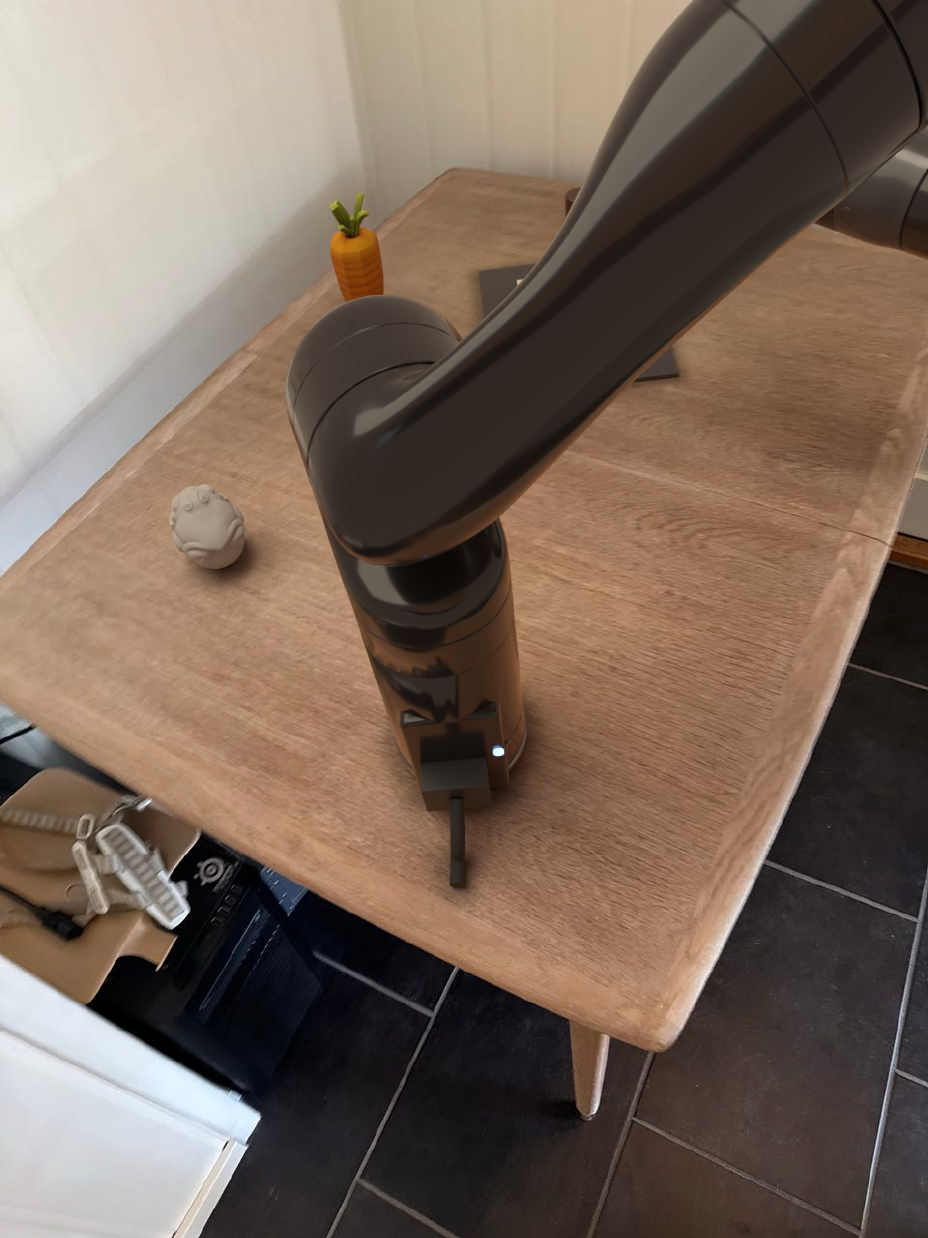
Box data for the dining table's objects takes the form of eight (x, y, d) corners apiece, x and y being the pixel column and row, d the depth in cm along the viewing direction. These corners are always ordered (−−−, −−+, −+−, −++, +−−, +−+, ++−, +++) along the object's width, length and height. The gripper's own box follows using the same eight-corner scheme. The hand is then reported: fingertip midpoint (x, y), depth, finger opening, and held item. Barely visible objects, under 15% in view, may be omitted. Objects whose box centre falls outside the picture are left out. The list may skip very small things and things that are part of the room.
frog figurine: (239, 518, 79) (213, 460, 74) (269, 565, 75) (244, 508, 70) (176, 548, 78) (145, 491, 72) (204, 598, 74) (173, 542, 68)
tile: (678, 376, 85) (679, 366, 84) (493, 398, 86) (492, 388, 85) (638, 253, 98) (639, 243, 97) (478, 273, 99) (477, 263, 98)
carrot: (387, 315, 96) (361, 178, 84) (401, 339, 93) (376, 200, 81) (344, 328, 95) (311, 192, 83) (357, 353, 92) (324, 215, 80)
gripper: (943, 82, 61) (746, 33, 69) (824, 164, 56) (626, 100, 64) (909, 190, 67) (732, 133, 75) (799, 272, 61) (621, 201, 69)
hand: (683, 118), depth 69 cm, fingers open, 8 cm apart
